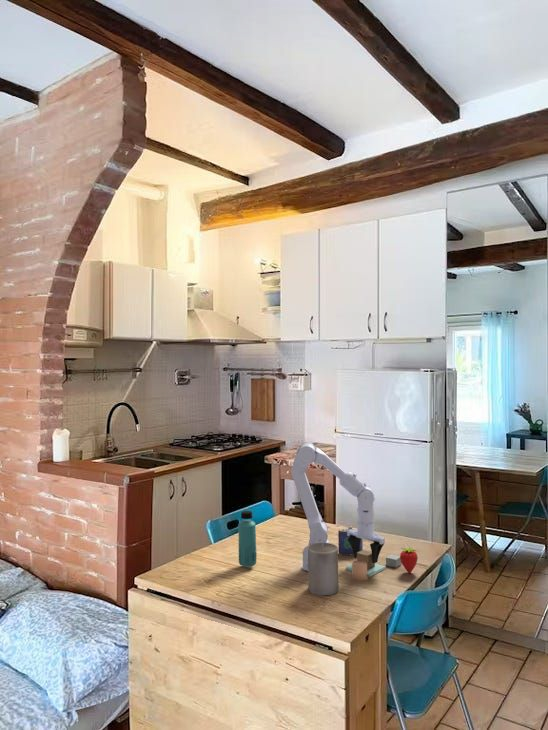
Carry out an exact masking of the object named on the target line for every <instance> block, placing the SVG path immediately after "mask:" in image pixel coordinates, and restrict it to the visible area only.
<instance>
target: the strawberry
mask: <svg viewBox="0 0 548 730" xmlns="http://www.w3.org/2000/svg"><path fill="white" fill-rule="evenodd" d="M406 545H407V546H408V547H409V548H405V547H401V548H400V549H402V551H401V552H400V554H399V556H400V560H401V565H402V566H403V568H404V570H406V572H407V573H408V574H411V573H412V571H413V570H414V569H415V567H416V565H417V562H418V557H419V556H418V553H417V552H416V551H417V549H413V548H412V547H410V545H408V543H406Z"/></svg>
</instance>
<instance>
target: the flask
mask: <svg viewBox="0 0 548 730" xmlns="http://www.w3.org/2000/svg"><path fill="white" fill-rule="evenodd" d="M353 527H354V526H353V525H349V527H348V528H342V529H339V530H338V532H337V533H338V534H337V535H338V536H337V537H338V538H337V539H338V546H337V547H338V556H339V555H340V556H354V554H353V550H352V547H351V545H350V543H349V541H348V538H350V536H347V530H350V529H352V530H354V528H353ZM363 541H364V539H361V541H360V551H362V550H364V549H363V548H364V547H363V546H364V544H363Z"/></svg>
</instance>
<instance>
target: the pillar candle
mask: <svg viewBox="0 0 548 730" xmlns="http://www.w3.org/2000/svg"><path fill="white" fill-rule="evenodd" d="M307 546H308V545H307ZM338 550H339V549H338V546H337V545H336V544H333V543H330V542H329V543H314V544H311V545H310V546H308V571H307V572H308V573H307V575H308V576H307V577H308V580H307V581H308V583H307V584H308V591H309V593H311V594H313V595H316V596H332V595H335V594H337V593H338V592H339V588H340V587H339V586H340V583H339V552H338Z"/></svg>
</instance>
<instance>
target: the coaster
mask: <svg viewBox="0 0 548 730" xmlns="http://www.w3.org/2000/svg"><path fill="white" fill-rule="evenodd" d="M386 566H387V565H382V564H378V563H375V567H373V568H371V569H369V570H367V577H369V578H370V577H372V576H374V575H376V574H378V573H380V572H382V571H384V570H386V569H387V567H386ZM346 570H347V571H350V572H352V564H350V565H347V566H346V567H345V571H346Z"/></svg>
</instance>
